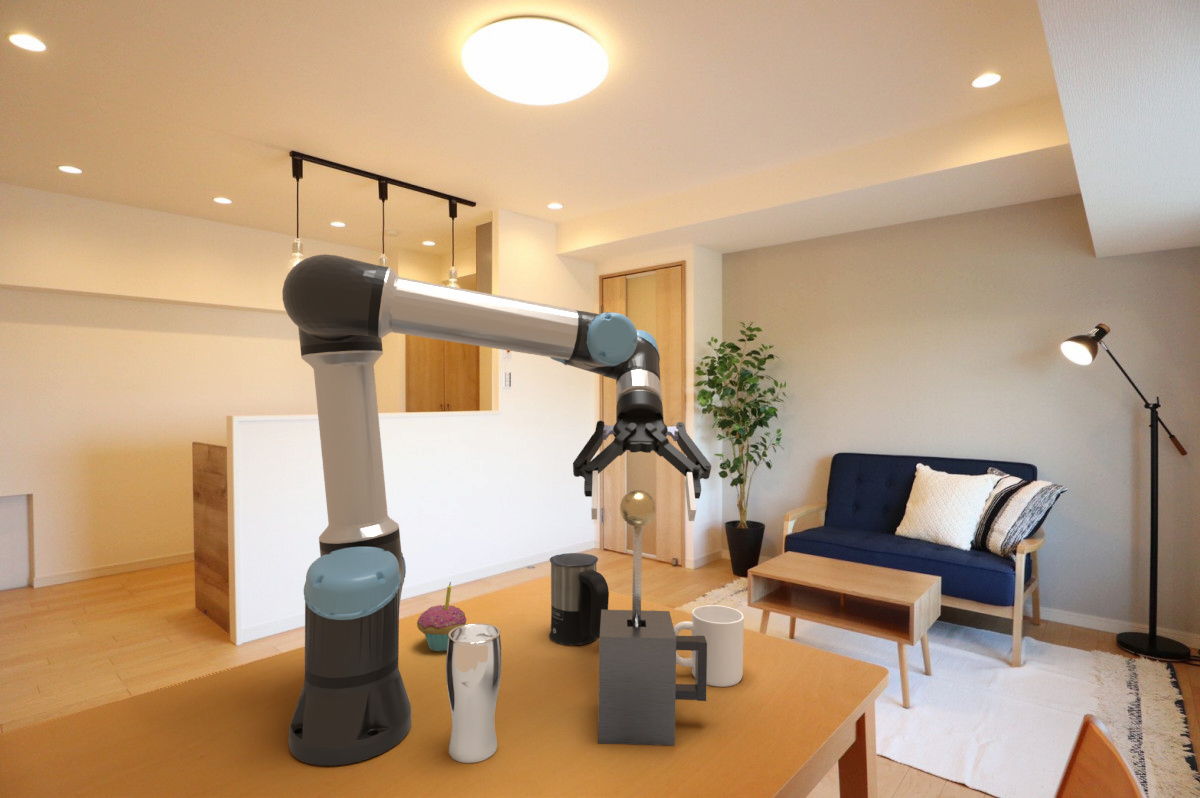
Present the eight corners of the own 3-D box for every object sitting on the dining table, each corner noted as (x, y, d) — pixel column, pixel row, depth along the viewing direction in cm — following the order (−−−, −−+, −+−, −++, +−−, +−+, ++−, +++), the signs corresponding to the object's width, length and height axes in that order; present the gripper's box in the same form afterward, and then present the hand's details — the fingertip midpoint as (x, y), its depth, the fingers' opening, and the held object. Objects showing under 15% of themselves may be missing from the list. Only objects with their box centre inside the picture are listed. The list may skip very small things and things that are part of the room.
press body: (598, 743, 79) (599, 636, 79) (600, 704, 89) (601, 609, 89) (710, 746, 79) (711, 639, 79) (699, 706, 89) (700, 611, 89)
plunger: (607, 659, 80) (609, 494, 80) (607, 635, 88) (609, 485, 88) (667, 660, 80) (669, 495, 80) (662, 636, 88) (664, 486, 88)
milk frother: (538, 638, 113) (539, 559, 113) (588, 614, 126) (588, 543, 126) (600, 658, 105) (601, 573, 105) (647, 630, 118) (647, 554, 118)
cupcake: (475, 643, 110) (476, 578, 110) (440, 660, 103) (441, 590, 103) (442, 633, 115) (443, 570, 114) (406, 648, 107) (407, 581, 107)
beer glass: (473, 772, 73) (475, 648, 72) (433, 753, 76) (434, 635, 76) (511, 744, 78) (513, 629, 78) (472, 728, 82) (473, 618, 82)
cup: (749, 687, 95) (750, 622, 95) (674, 688, 94) (674, 623, 94) (734, 663, 103) (735, 604, 103) (664, 665, 102) (665, 605, 102)
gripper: (712, 421, 101) (729, 531, 86) (563, 418, 101) (554, 528, 86) (719, 389, 96) (738, 500, 81) (561, 386, 96) (551, 497, 81)
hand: (643, 515), depth 84 cm, fingers open, 13 cm apart
